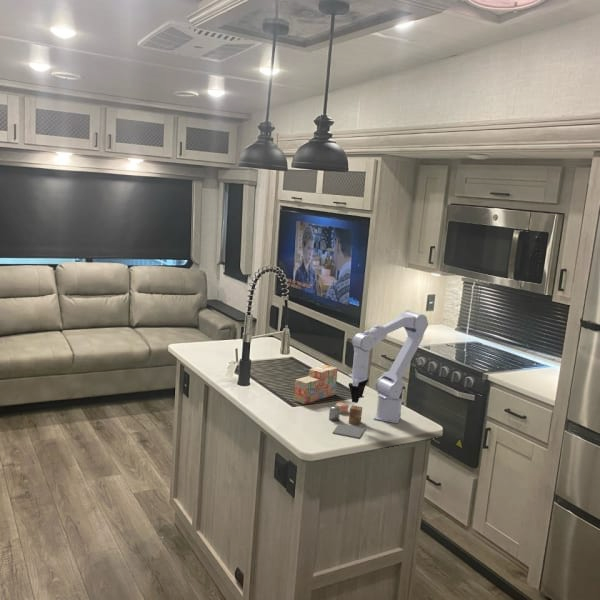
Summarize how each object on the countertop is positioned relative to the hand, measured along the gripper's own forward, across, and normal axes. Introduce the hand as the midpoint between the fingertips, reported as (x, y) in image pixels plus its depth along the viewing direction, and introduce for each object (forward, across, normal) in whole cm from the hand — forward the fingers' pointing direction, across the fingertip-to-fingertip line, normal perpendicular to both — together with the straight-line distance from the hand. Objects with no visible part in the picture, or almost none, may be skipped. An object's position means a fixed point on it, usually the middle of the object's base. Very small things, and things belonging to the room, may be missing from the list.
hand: (357, 399), depth 230 cm
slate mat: (+9, +10, 0) cm, 14 cm away
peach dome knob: (+10, -10, -8) cm, 15 cm away
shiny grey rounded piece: (+9, +1, -8) cm, 12 cm away
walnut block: (+9, 0, 0) cm, 9 cm away
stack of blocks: (+10, -21, -22) cm, 32 cm away
